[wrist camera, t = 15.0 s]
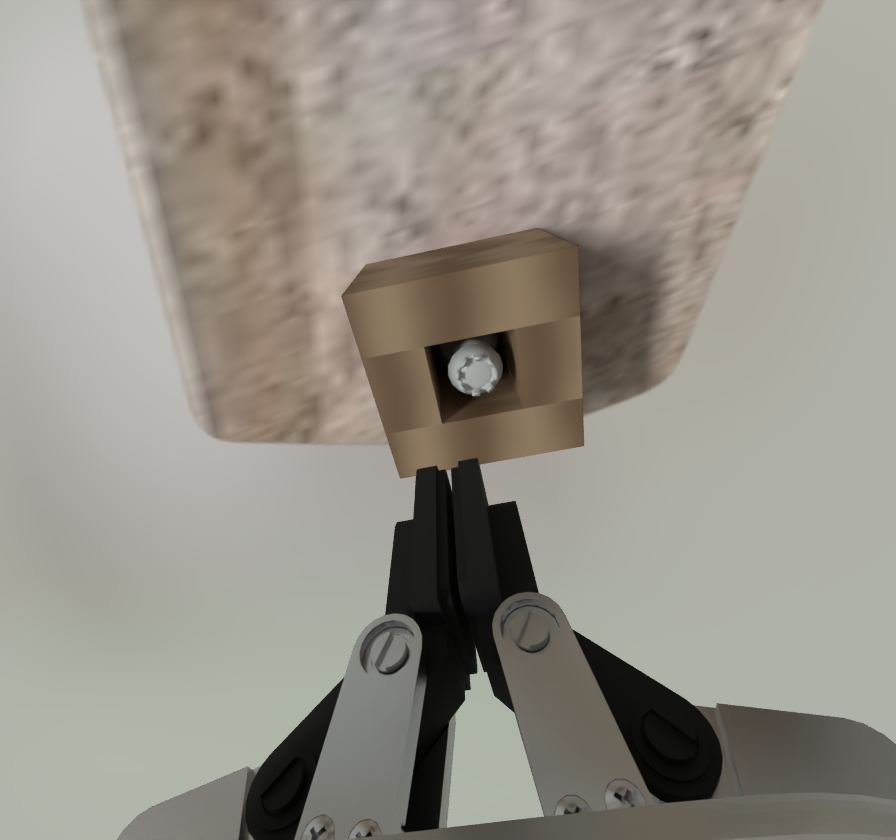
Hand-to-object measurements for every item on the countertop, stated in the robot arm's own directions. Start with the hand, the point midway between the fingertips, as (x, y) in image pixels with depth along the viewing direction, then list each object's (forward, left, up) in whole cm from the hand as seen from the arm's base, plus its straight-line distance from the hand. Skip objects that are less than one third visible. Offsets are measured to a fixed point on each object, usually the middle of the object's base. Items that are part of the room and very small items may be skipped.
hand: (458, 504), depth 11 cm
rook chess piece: (-1, +2, -21) cm, 21 cm away
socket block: (-1, +2, -22) cm, 22 cm away
